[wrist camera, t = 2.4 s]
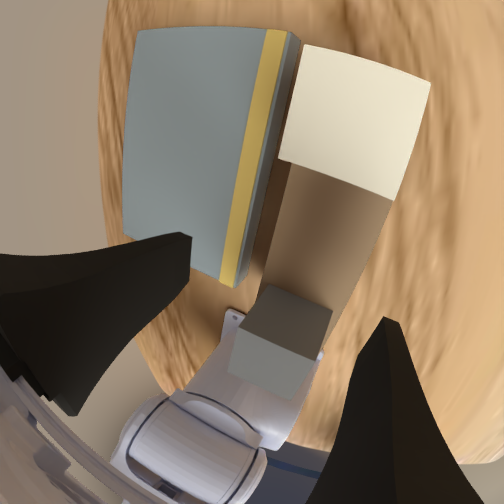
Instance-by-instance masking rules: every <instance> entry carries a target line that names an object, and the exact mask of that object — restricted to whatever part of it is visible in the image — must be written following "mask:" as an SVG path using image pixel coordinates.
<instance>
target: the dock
mask: <svg viewBox="0 0 504 504" xmlns="http://www.w3.org/2000/svg"><path fill="white" fill-rule="evenodd" d="M300 42H301V40H300V39H299V38H297V37H296V36H295V35H294V34H293V33H292V32H288V31H282V30H274V29H259V28H246V27H225V26H193V27H172V28H160V29H150V30H141V31H138V34H137V39H136V44H135V49H134V55H133V61H132V67H131V74H130V81H129V89H128V98H127V107H126V118H125V130H124V146H123V173H122V212H123V234H125V235H127V236H129V237H131V238H133V239H135V240H137V241H138V240H142V239H146V238H150V237H154V236H159V235H163V234H167V233H172V232H179V231H180V232H182V233H184V234H187V235H189V236H191V237H193V238H192V250H191V262H190V267H192V268H194V269H196V270H198V271H200V272H202V273H204V274H206V275H209V276H211V277H213V278H215V279H217V280H219V282H220V283H223V284H225V285H227V286H229V287H231V288H233V287H234V288H236V287H237V286H238V285H239V284H240V283H241V281H242V280H243V279H244V278H245V277H246V276H247V273H248V268H249V264H250V260H251V255H252V251H253V247H254V242H255V238H256V233H257V229H258V225H259V220H260V216H261V212H262V207H263V203H264V199H265V194H266V190H267V186H268V181H269V177H270V173H271V168H272V164H273V159H274V155H275V151H276V146H277V142H278V138H279V133H280V129H281V125H282V120H283V116H284V112H285V107H286V103H287V98H288V94H289V90H290V85H291V81H292V77H293V72H294V68H295V64H296V59H297V55H298V51H299V46H300Z"/></svg>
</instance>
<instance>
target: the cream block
mask: <svg viewBox="0 0 504 504" xmlns="http://www.w3.org/2000/svg"><path fill="white" fill-rule="evenodd" d="M430 86H431V83H430V82H428V81H425V80H423V79H421V78H418V77H416V76H413V75H411V74H408V73H405V72H403V71H400V70H397V69H395V68H392V67H389V66H386V65H383V64H380V63H377V62H374V61H371V60H368V59H364V58H361V57H357V56H354V55H350V54H346V53H342V52H338V51H334V50H330V49H326V48H321V47H316V46H311V45H306V44H304V48H303V52H302V57H301V61H300V65H299V70H298V74H297V78H296V83H295V87H294V91H293V95H292V100H291V104H290V108H289V113H288V117H287V121H286V126H285V130H284V134H283V138H282V143H281V147H280V151H279V156H278V159H281V160H285V161H288V162H291V163H294V164H297V165H300V166H303V167H306V168H309V169H312V170H315V171H318V172H321V173H324V174H326V175H329V176H332V177H335V178H337V179H340V180H343V181H346V182H348V183H351V184H353V185H356V186H359V187H361V188H364V189H366V190H369V191H371V192H374V193H376V194H379V195H381V196H383V197H386V198H388V199H390V200H393V201H394V200H395V198H396V195H397V192H398V190H399V187H400V184H401V182H402V179H403V176H404V173H405V170H406V168H407V165H408V162H409V159H410V156H411V153H412V150H413V147H414V143H415V140H416V137H417V134H418V130H419V127H420V124H421V120H422V117H423V113H424V109H425V106H426V102H427V98H428V94H429V90H430Z"/></svg>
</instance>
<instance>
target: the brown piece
mask: <svg viewBox="0 0 504 504" xmlns="http://www.w3.org/2000/svg"><path fill="white" fill-rule="evenodd" d="M392 202H393V200H390V199H388V198H386V197H383V196H381V195H379V194H376V193H374V192H371V191H369V190H366V189H364V188H361V187H359V186H356V185H353V184H351V183H348V182H346V181H343V180H340V179H337V178H335V177H332V176H329V175H326V174H324V173H321V172H318V171H315V170H312V169H309V168H306V167H303V166H300V165H297V164H294V163H292V165H291V168H290V172H289V176H288V180H287V184H286V188H285V192H284V196H283V200H282V204H281V208H280V211H279V215H278V219H277V223H276V227H275V231H274V234H273V238H272V242H271V246H270V250H269V253H268V257H267V261H266V265H265V268H264V272H263V276H262V279H261V283H260V287H259V290H258V294H257V298H256V301H257V300H258V298H259V297H260V296H261V294H262V293H263V292H264V290H265V289H266V287H267V286H268V285H269V284H271V285H273V286H275V287H278V288H280V289H282V290H285V291H287V292H289V293H292V294H294V295H296V296H299V297H301V298H303V299H306V300H308V301H310V302H313V303H315V304H318V305H320V306H322V307H325V308H327V309H329V310H332V311H333V313H332V316H331V319H330V322H329V325H328V328H327V331H326V334H325V337H324V340H323V342H322V345H321V348H320V351H319V353H320V352H321V350H322V348H323V346H324V345H325V343H326V341H327V339H328V338H329V336H330V334H331V332H332V330H333V329H334V327H335V325H336V323H337V321H338V319H339V318H340V316H341V314H342V312H343V310H344V308H345V306H346V304H347V302H348V300H349V298H350V296H351V294H352V292H353V290H354V288H355V286H356V284H357V282H358V280H359V278H360V276H361V274H362V272H363V270H364V268H365V266H366V263H367V261H368V259H369V257H370V255H371V253H372V250H373V248H374V246H375V244H376V241H377V239H378V237H379V234H380V232H381V230H382V227H383V225H384V222H385V220H386V218H387V215H388V213H389V210H390V208H391V205H392ZM256 301H255V303H256ZM318 355H319V354H318ZM317 357H318V356H317Z"/></svg>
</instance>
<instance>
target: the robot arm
mask: <svg viewBox="0 0 504 504" xmlns="http://www.w3.org/2000/svg"><path fill="white" fill-rule="evenodd" d="M192 238H193V237H191V236H189V235H187V234H184V233H182V232H180V231H179V232H172V233H167V234H163V235H159V236H154V237H150V238H146V239H142V240H138V241H134V242H130V243H126V244H122V245H117V246H113V247H108V248H104V249H99V250H94V251H88V252H81V253H74V254H62V255H49V256H22V255H9V254H0V504H107V503H106V502H105V501H103V500H102V499H101V498H99V497H98V496H97V495H95V494H94V493H93V492H91V491H90V490H89V489H87V488H86V487H85V486H84V485H83V484H82V483H80V482H79V481H78V480H77V479H75V478H74V477H73V476H72V475H71V474H70V473H69V472H68V471H66V469H68V467H69V466H70V465H71V462H70V461H69V460H68V459H67V458H66V457H65V456H64V455H63V454H62V453H61V452H60V450H59V449H58V448H57V447H55V446H54V444H52V443H51V442H50V441H49V440H48V439H47V438H46V437H45V436H44V435H43V434H42V433H41V432H40V431H39V430H38V429H37V427H36V424H37V421H38V422H39V423H40V424H41V425H42V426H43V428H44V429H45V430H46V431H47V432H48V433H49V434H50V435H51V436H52V437H53V438H54V439H55V440H56V441H57V442H58V444H59V445H60V446H61V447H62V448H63V449H65V450H66V451H67V452H68V453H69V454H70V455H71V456H72V457H73V458H74V459H75V460H76V461H77V462H78V463H80V464H81V465H82V466H83V467H84V468H85V469H86V470H87V471H89V472H90V473H91V474H92V475H93V476H95V477H96V478H97V479H98V480H99V481H101V482H102V483H103V484H104V485H106V486H107V487H108V488H110V489H111V490H112V491H114V492H115V493H116V494H118V495H119V496H120V497H122V498H123V502H122V503H121V504H244V503H245V502H246V501H247V499H248V498H249V497H250V496H251V494H252V493H253V491H254V490H255V488H256V487H257V485H258V483H259V481H260V480H261V478H262V475H263V473H264V471H265V468H266V465H267V458H266V455H265V451H264V450H263V449H261V448H259V447H258V446H261V447H265V448H268V449H271V450H278V449H279V448H280V447H281V445H282V444H283V443H284V441H285V440H286V438H287V437H288V435H289V433H290V432H291V430H292V428H293V426H294V424H295V422H296V420H297V418H298V416H299V414H300V412H301V410H302V407H303V405H304V402H305V400H306V397H307V395H308V393H309V391H310V389H311V386H312V382H313V379H314V377H315V374H316V371H317V369H318V366H319V363H320V360H321V359H322V357H323V355H324V351H323V350H321V352H320V353H319V355H318V357H317V359H316V362H315V363H314V365H313V367H312V368H311V370H310V371H309V373H308V375H307V376H306V378H305V380H304V381H303V383H302V384H301V386H300V387H299V389H298V391H297V392H296V394H295V395H294V397H293V398H292V400H291V401H289V400H287V399H284V398H282V397H280V396H277V395H275V394H273V393H271V392H268V391H266V390H264V389H262V388H260V387H258V386H255V385H253V384H251V383H249V382H247V381H245V380H243V379H241V378H239V377H237V376H235V375H233V374H231V373H229V372H227V370H228V366H229V362H230V357H231V353H232V349H233V345H234V341H235V337H236V333H237V328H238V326H239V325H240V323H241V322H242V321H243V319H244V318H245V316H246V315H244V314H242V313H240V312H238V311H235V310H233V309H228V310H227V311H226V313H225V318H224V323H223V329H222V334H221V340H220V343H219V344H218V346H217V347H216V348H215V350H214V351H213V352H212V354H211V355H210V356H209V357H208V359H207V360H206V361H205V363H204V364H203V365H202V366H201V368H200V369H199V370H198V371H197V373H196V374H195V375H194V377H193V378H192V379H191V380H190V382H189V383H188V384H187V385H186V387H185V388H184V389H183V390H180V389H179V388H177V389H176V390H175V392H174V393H173V394H172V395H171V397H170V396H169V395H167V394H165V393H161V394H158V395H153V396H151V397H149V398H148V399H146V400H145V401H144V402H143V403H142V404H141V405H140V406H139V407H138V408H137V409H136V410H135V412H134V413H133V414H132V415H131V417H130V418H129V420H128V421H127V423H126V424H125V426H124V428H123V430H122V432H121V434H120V438H119V442H118V444H117V446H116V448H115V450H114V452H113V453H112V455H111V461H110V462H109V463H108V462H107V461H106V460H104V459H103V458H102V457H101V456H100V455H98V454H97V453H96V452H95V451H93V449H91V448H90V447H89V446H88V445H87V444H86V443H85V442H83V441H82V440H81V439H80V438H79V437H78V436H77V435H76V434H75V433H74V432H73V431H72V430H70V429H69V428H68V427H67V426H66V425H65V424H64V423H63V422H62V421H61V420H60V419H59V418H58V417H57V416H56V415H55V414H54V413H53V412H52V410H50V408H49V407H48V406H47V405H46V404H45V403H44V402H43V400H42V399H41V398H40V397H41V396H42V395H44V396H45V397H46V398H47V400H48V401H52V400H53V401H54V402H55V403H56V404H57V405H58V406H59V407H60V408H61V409H62V410H63V411H64V412H65V413H66V414H67V415H68V416H77V415H78V413H79V412H80V410H81V408H82V406H83V404H84V403H85V401H86V400H87V398H88V396H89V395H90V393H91V391H92V390H93V389H94V387H95V386H96V384H97V383H98V381H99V380H100V378H101V377H102V375H103V374H104V373H105V371H106V370H107V369H108V367H109V366H110V364H111V363H112V362H113V361H114V360H115V358H116V357H117V356H118V354H119V353H120V352H121V351H122V350H123V349H124V347H125V346H126V345H127V344H128V343H129V342H130V340H131V339H132V338H133V337H134V336H135V335H136V334H137V333H138V332H140V331H141V330H142V329H143V328H144V327H145V326H146V325H147V324H148V323H149V322H150V321H151V320H153V319H154V318H155V317H156V316H157V315H158V314H159V313H160V312H161V311H162V310H163V309H164V308H165V307H166V306H168V305H169V304H170V303H171V302H172V301H173V300H174V299H175V298H176V296H177V295H178V294H179V293H180V292H181V290H182V289H183V288H184V287H185V285H186V284H187V283H188V281H189V276H190V262H191V250H192ZM236 316H237V317H236ZM305 504H484V503H483V501H482V500H481V498H480V497H479V495H478V494H477V493H476V491H475V490H474V489H473V487H472V486H471V484H470V483H469V482H468V480H467V479H466V477H465V475H464V474H463V472H462V471H461V469H460V467H459V466H458V464H457V462H456V461H455V459H454V457H453V455H452V454H451V452H450V450H449V448H448V446H447V444H446V442H445V440H444V438H443V436H442V434H441V432H440V430H439V428H438V426H437V424H436V421H435V419H434V417H433V415H432V412H431V410H430V408H429V405H428V403H427V400H426V398H425V395H424V392H423V390H422V387H421V385H420V382H419V379H418V376H417V374H416V371H415V368H414V365H413V362H412V359H411V356H410V353H409V350H408V347H407V344H406V341H405V338H404V335H403V332H402V329H401V327H400V324H399V322H396V321H394V320H391V319H389V318H386V317H384V316H383V318H382V319H381V321H380V322H379V324H378V326H377V327H376V329H375V330H374V332H373V333H372V335H371V337H370V338H369V340H368V341H367V343H366V344H365V346H364V347H363V349H362V350H361V351H360V353H359V354H358V357H357V360H356V363H355V366H354V369H353V372H352V375H351V378H350V382H349V387H348V391H347V396H346V400H345V404H344V409H343V413H342V417H341V421H340V425H339V429H338V433H337V436H336V439H335V442H334V445H333V448H332V450H331V452H330V455H329V457H328V460H327V462H326V464H325V467H324V469H323V471H322V473H321V475H320V477H319V479H318V481H317V483H316V485H315V487H314V489H313V491H312V493H311V495H310V496H309V498H308V500H307V502H306V503H305Z"/></svg>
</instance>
